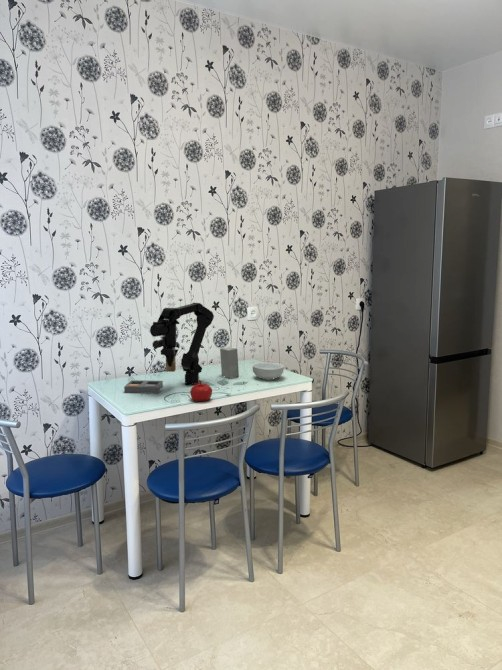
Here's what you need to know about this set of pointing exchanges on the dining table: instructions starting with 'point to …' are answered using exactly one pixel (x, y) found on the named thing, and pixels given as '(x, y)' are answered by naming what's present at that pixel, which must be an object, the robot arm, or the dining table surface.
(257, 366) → the cereal bowl
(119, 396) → the dining table surface
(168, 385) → the dining table surface
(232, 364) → the skincare box
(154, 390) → the socket block
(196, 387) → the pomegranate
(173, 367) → the walnut plug
